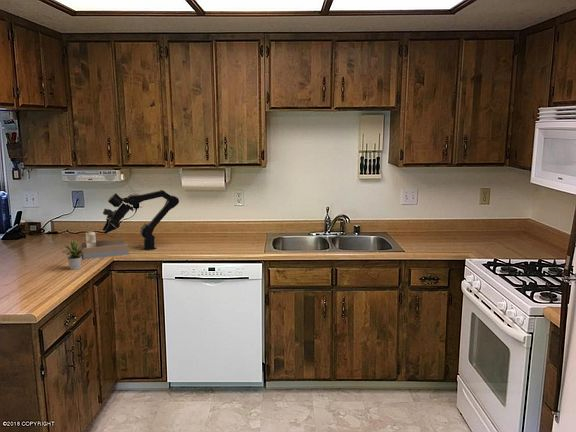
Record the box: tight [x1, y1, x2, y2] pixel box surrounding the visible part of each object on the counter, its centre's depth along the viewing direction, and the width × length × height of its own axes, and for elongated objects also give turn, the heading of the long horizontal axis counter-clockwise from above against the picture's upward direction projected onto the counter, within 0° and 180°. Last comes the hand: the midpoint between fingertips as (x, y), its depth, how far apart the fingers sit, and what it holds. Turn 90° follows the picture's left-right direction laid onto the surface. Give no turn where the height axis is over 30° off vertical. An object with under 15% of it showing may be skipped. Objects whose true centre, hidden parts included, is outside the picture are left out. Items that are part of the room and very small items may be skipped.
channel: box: [80, 238, 130, 260], centre depth 295 cm, size 25×18×6 cm
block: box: [85, 231, 97, 248], centre depth 291 cm, size 5×5×10 cm
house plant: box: [59, 238, 85, 271], centre depth 263 cm, size 14×14×16 cm
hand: (103, 231), depth 294 cm, fingers open, 9 cm apart
